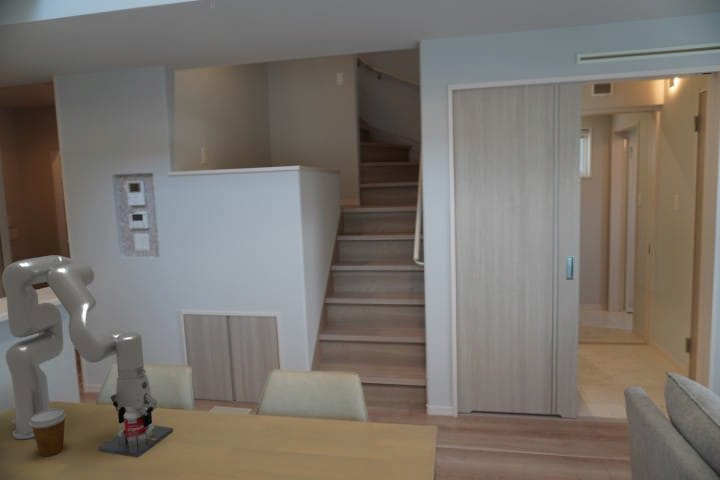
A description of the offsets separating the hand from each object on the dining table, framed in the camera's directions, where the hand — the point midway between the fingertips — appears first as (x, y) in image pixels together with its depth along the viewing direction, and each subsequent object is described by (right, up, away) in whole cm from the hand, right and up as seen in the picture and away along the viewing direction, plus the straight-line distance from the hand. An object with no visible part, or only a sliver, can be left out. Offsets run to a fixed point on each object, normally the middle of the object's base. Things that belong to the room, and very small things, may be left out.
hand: (135, 423), depth 155 cm
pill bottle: (0, -5, +1) cm, 5 cm away
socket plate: (0, -6, +1) cm, 6 cm away
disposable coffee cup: (-24, -7, -4) cm, 26 cm away
